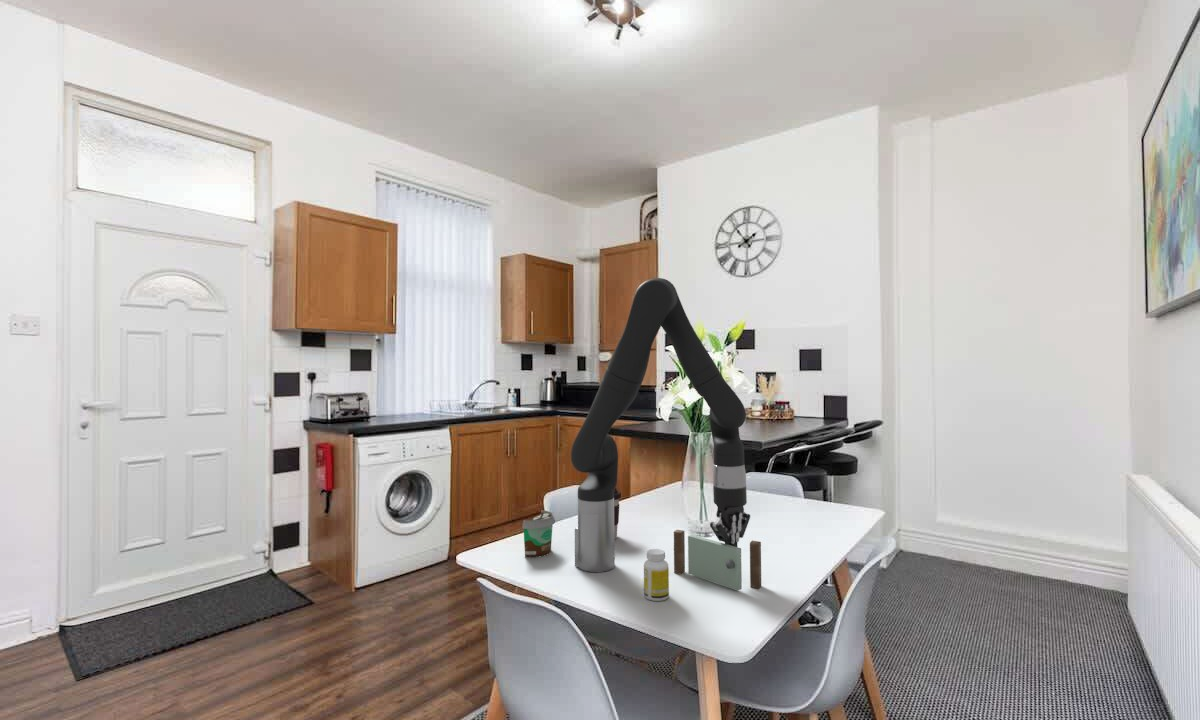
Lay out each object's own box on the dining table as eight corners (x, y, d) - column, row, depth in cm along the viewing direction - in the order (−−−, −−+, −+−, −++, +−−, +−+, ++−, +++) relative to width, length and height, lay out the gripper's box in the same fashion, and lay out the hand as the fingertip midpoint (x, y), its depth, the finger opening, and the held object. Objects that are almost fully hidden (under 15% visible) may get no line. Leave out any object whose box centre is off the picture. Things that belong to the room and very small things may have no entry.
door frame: (674, 573, 134) (673, 531, 135) (677, 570, 136) (676, 529, 136) (759, 588, 124) (758, 544, 124) (761, 585, 126) (760, 541, 126)
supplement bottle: (673, 596, 121) (673, 551, 121) (659, 604, 116) (658, 557, 117) (653, 589, 124) (653, 546, 124) (638, 597, 120) (638, 552, 120)
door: (685, 574, 132) (685, 536, 132) (692, 572, 133) (692, 534, 134) (734, 592, 121) (734, 550, 121) (741, 589, 123) (741, 548, 123)
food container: (543, 561, 143) (543, 522, 144) (522, 559, 145) (522, 520, 146) (562, 547, 155) (562, 511, 155) (542, 544, 157) (542, 509, 157)
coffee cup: (602, 530, 170) (601, 481, 171) (628, 536, 164) (627, 486, 164) (581, 538, 163) (580, 487, 163) (607, 544, 157) (606, 491, 157)
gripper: (725, 491, 121) (727, 570, 121) (759, 481, 130) (761, 555, 130) (698, 485, 127) (700, 561, 127) (733, 477, 136) (735, 547, 136)
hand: (731, 558), depth 128 cm, fingers closed
